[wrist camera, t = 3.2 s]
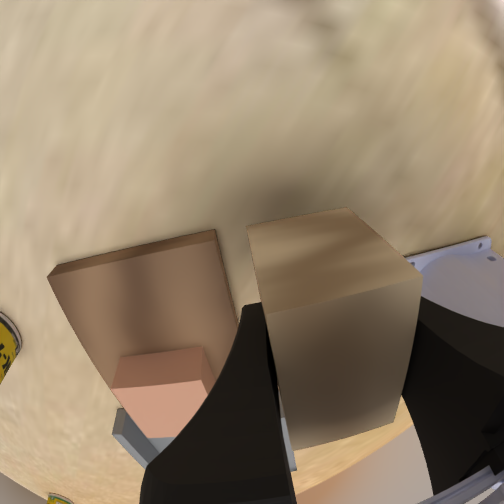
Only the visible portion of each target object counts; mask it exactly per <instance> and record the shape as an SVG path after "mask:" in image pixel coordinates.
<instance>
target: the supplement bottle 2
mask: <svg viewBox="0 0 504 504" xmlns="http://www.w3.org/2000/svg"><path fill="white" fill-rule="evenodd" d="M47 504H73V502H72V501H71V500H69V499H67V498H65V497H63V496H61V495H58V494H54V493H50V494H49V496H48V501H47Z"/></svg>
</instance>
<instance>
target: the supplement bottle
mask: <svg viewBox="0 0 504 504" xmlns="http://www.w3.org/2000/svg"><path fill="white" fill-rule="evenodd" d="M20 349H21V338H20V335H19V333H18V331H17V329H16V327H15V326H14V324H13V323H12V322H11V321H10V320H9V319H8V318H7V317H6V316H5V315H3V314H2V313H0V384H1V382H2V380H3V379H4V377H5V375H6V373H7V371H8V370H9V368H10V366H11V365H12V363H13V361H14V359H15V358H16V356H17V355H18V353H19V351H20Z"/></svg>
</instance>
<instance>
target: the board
mask: <svg viewBox="0 0 504 504" xmlns="http://www.w3.org/2000/svg"><path fill="white" fill-rule="evenodd" d="M47 279H48V281H49V283H50V285H51V287H52V290H53V292H54V294H55V296H56V298H57V300H58V302H59V304H60V306H61V308H62V310H63V312H64V313H65V315H66V317H67V319H68V321H69V323H70V325H71V326H72V328H73V330H74V332H75V334H76V335H77V337H78V339H79V341H80V342H81V344H82V346H83V347H84V349H85V351H86V352H87V354H88V356H89V357H90V359H91V361H92V362H93V364H94V365H95V367H96V369H97V370H98V372H99V373H100V375H101V376H102V378H103V379H104V381H105V382H106V384H107V385H108V387H109V388H110V390H111V386H112V383H113V379H114V376H115V372H116V369H117V366H118V363H119V359H120V357H127V356H136V355H144V354H152V353H159V352H167V351H174V350H181V349H187V348H194V347H200V346H202V347H203V350H204V352H205V355H206V358H207V360H208V363H209V365H210V368H211V371H212V373H213V376H214V378H215V381H216V380H217V378H218V377H219V375H220V373H221V371H222V369H223V366H224V364H225V362H226V360H227V357H228V355H229V353H230V350H231V348H232V345H233V342H234V339H235V336H236V333H237V330H238V327H239V324H238V320H237V317H236V313H235V309H234V305H233V301H232V297H231V293H230V289H229V285H228V282H227V278H226V274H225V270H224V265H223V261H222V257H221V253H220V249H219V245H218V241H217V237H216V233H215V229H214V230H209V231H205V232H200V233H195V234H191V235H186V236H181V237H177V238H172V239H168V240H163V241H159V242H154V243H150V244H145V245H141V246H136V247H132V248H128V249H123V250H119V251H115V252H110V253H106V254H102V255H98V256H93V257H89V258H85V259H81V260H77V261H73V262H69V263H65V264H60V265H57V266H56V267H55V268H54V269H53V270H52V272H51V273H50V274H49V275H48V276H47ZM111 391H112V390H111ZM112 393H113V392H112ZM113 394H114V393H113ZM114 395H115V394H114ZM115 397H116V396H115ZM116 398H117V397H116ZM117 400H118V399H117ZM118 401H119V400H118ZM119 402H120V401H119ZM120 404H121V403H120ZM121 405H122V404H121ZM122 407H123V406H122ZM123 408H124V407H123ZM124 409H125V408H124ZM125 411H126V410H125ZM126 412H127V411H126ZM127 413H128V412H127ZM128 415H129V414H128ZM129 416H130V415H129ZM130 417H131V416H130Z"/></svg>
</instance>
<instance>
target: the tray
mask: <svg viewBox="0 0 504 504" xmlns="http://www.w3.org/2000/svg"><path fill="white" fill-rule="evenodd" d="M278 392H279V390H278ZM279 402H280V413H281V424H282V431H283V437H284V442H285V447H286V452H287V457H288V462H289V467H290V472H292V471H296V470H297V468H296V463H295V457H294V452H293V451H292V448H291V444H290V439H289V434H288V430H287V425H286V420H285V416H284V411H283V406H282V401H281V397H280V392H279ZM112 435H113V436H114V437H115V439H116V440H117V441H118V442H119V443H120V444H121V445H122V446H123V447H124V448H125V449H126V450H127V451H128V452H129V453H130V455H131V456H132V457H133V458H134V459H135V460H136V461H137V462H138V463H139V464H140V465H141V466H142V467H143V468H144V469H145V470H146V466H147V465H148V464H149V463H150V462H151V461H152V460H153V459H154V458H155V457H156V456H157V455H159V454H160V453H161V452H162V451H163V450H164V449H165V448H166V447H167V446H168V445H169V444H170V443H171V442H172V441H173V440H174V439H175V438H176V437H164V438H147V437H146V436H145V434H144V433H143V432H142V431H141V429H140V428H139V427H138V426H137V424H136V423H135V422H134V420H133V419H132V418H131V417H130V416H129V415H128V413H127V412H126V411H125V409H118V410H117V414H116V418H115V423H114V427H113V432H112Z"/></svg>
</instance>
